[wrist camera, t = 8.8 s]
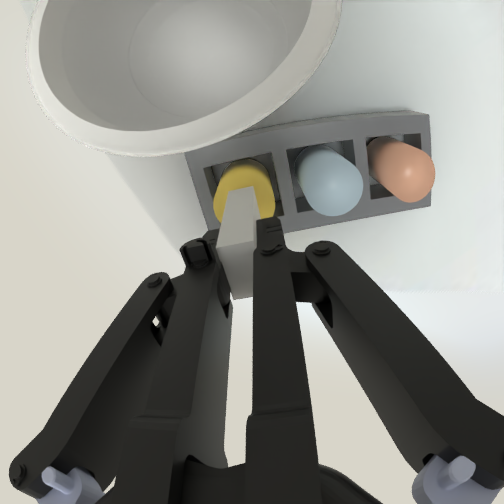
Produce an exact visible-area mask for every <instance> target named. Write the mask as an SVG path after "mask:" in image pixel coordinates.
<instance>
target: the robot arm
mask: <svg viewBox="0 0 504 504" xmlns="http://www.w3.org/2000/svg"><path fill="white" fill-rule="evenodd" d="M180 252H181V255H182V257H183V260H184V262H185V265H186V268H185V271H184V274H182V275H180V276H178V277H175V278H172V279H170V277H169V275H168V274H167V273H164V272H159V273H155V274H152V275H150V276H149V277H147V278H146V279H145V280H144V281H143V282H142V283H141V284H140V286H139V287H138V288H137V290H136V291H135V292H134V294H133V295H132V296H131V298H130V299H129V300H128V302H127V303H126V304H125V306H124V307H123V308H122V310H121V311H120V313H119V314H118V315H117V317H116V318H115V319H114V321H113V322H112V323H111V325H110V326H109V328H108V329H107V330H106V332H105V333H104V335H103V336H102V338H101V339H100V341H99V342H98V343H97V345H96V346H95V348H94V349H93V351H92V352H91V354H90V355H89V357H88V358H87V359H86V361H85V362H84V364H83V365H82V367H81V368H80V370H79V372H78V373H77V375H76V376H75V378H74V379H73V381H72V382H71V384H70V386H69V387H68V389H67V391H66V392H65V394H64V395H63V397H62V398H61V400H60V402H59V403H58V405H57V407H56V408H55V410H54V411H53V413H52V415H51V417H50V418H49V420H48V422H47V423H46V425H45V427H44V429H43V430H42V431H41V432H40V433H39V434H38V435H37V436H36V437H35V438H34V439H33V440H32V441H31V442H30V443H29V444H28V445H27V446H26V447H25V448H24V449H23V450H22V451H21V452H20V453H19V454H18V455H17V456H16V457H15V458H14V460H13V461H12V463H11V465H10V468H9V478H10V481H11V484H12V485H13V487H15V488H16V489H17V490H19V491H21V492H23V493H25V494H27V495H29V496H31V497H33V498H35V499H36V500H37V501H38V503H39V504H383V503H381V502H380V501H378V500H377V499H376V498H374V497H373V496H372V495H370V494H369V493H367V492H366V491H365V490H364V489H362V488H361V487H359V486H358V485H357V484H356V483H355V482H353V481H352V480H351V479H349V478H348V477H347V476H345V475H344V474H342V473H340V472H339V471H337V470H334V469H332V468H330V467H327V466H324V465H320V464H319V463H318V455H317V446H316V437H315V429H314V422H313V413H312V406H311V398H310V391H309V384H308V377H307V370H306V364H305V356H304V350H303V343H302V337H301V331H300V324H299V319H298V312H297V306H296V302H310V303H312V306H313V308H314V310H315V312H316V313H317V315H318V316H319V318H320V320H321V321H322V323H323V324H324V326H325V328H326V329H327V331H328V332H329V334H330V335H331V337H332V339H333V341H334V342H335V344H336V345H337V347H338V349H339V350H340V352H341V353H342V355H343V357H344V358H345V360H346V362H347V363H348V365H349V367H350V368H351V370H352V372H353V373H354V375H355V377H356V378H357V380H358V382H359V383H360V385H361V387H362V388H363V390H364V391H365V393H366V395H367V397H368V398H369V400H370V402H371V403H372V405H373V406H374V408H375V410H376V412H377V413H378V415H379V417H380V419H381V420H382V422H383V424H384V425H385V427H386V429H387V430H388V432H389V434H390V436H391V437H392V439H393V441H394V443H395V444H396V446H397V448H398V449H399V451H400V452H401V454H402V455H403V457H404V458H405V460H406V461H407V462H408V463H409V465H410V466H411V467H412V468H413V469H414V470H415V471H416V472H417V473H418V475H417V477H416V478H415V480H414V482H413V485H412V495H413V498H414V499H415V501H416V503H417V504H491V503H492V501H493V500H494V499H495V497H496V496H497V494H498V493H499V491H500V490H501V489H502V488H503V487H504V416H503V415H501V414H499V413H498V412H496V411H495V410H493V409H491V408H490V407H488V406H487V405H485V404H483V403H482V402H480V401H479V400H477V399H476V398H475V397H474V396H473V394H472V393H471V392H470V390H469V389H468V388H467V387H466V385H465V384H464V383H463V382H462V380H461V379H460V378H459V377H458V375H457V374H456V373H455V372H454V370H453V369H452V368H451V367H450V365H449V364H448V363H447V362H446V361H445V359H444V358H443V357H442V356H441V355H440V353H439V352H438V351H437V350H436V349H435V348H434V346H432V344H431V343H430V342H429V341H428V340H427V338H426V337H425V336H424V335H423V334H422V333H421V332H420V330H419V329H418V328H417V327H416V326H415V325H414V324H413V323H412V321H411V320H410V319H409V318H408V317H407V316H406V315H405V314H404V313H403V312H402V311H401V310H400V308H399V307H398V306H397V305H396V304H395V303H394V302H393V301H392V300H391V299H390V298H389V297H388V295H387V294H386V293H385V292H384V291H383V290H382V289H381V288H380V287H379V286H378V285H377V284H376V283H375V282H374V281H373V280H372V279H371V278H370V277H369V276H368V275H367V274H366V273H365V272H364V271H363V270H362V269H361V268H360V267H359V266H358V265H357V264H356V263H355V262H354V261H353V260H352V259H351V258H350V257H349V256H348V255H347V254H346V253H345V252H344V251H343V250H342V249H341V248H340V247H339V246H338V245H337V244H335V243H334V242H330V241H319V242H314V243H312V244H310V245H309V246H308V247H307V248H306V249H305V252H295V251H291V250H289V249H288V248H287V247H286V245H285V240H284V235H283V230H282V225H281V220H280V219H279V218H277V217H276V216H274V217H269V218H263V219H261V217H260V213H259V208H258V204H257V200H256V196H255V191H254V187H253V186H250V187H246V188H241V189H236V190H232V191H228V196H227V200H226V204H225V209H224V213H223V217H222V222H221V226H220V228H218V229H214V230H209V231H207V232H206V234H205V235H204V236H203V238H197V239H194V240H191V241H189V242H187V243H185V244H184V245H183V246H182V247H181V248H180ZM230 292H231V294H232V297H233V299H234V300H236V299H242V298H248V297H253V388H252V389H253V390H252V391H253V392H252V393H253V395H252V400H253V401H252V414H251V415H249V416H248V419H247V425H246V462H245V463H244V464H239V465H235V466H232V467H228V463H227V459H226V456H225V452H224V434H225V433H224V432H225V416H226V400H227V384H228V369H229V353H230V340H231V325H232V313H233V306H232V303H231V300H230ZM155 316H156V317H157V319H158V320H159V324H158V325H157V326H155V325H154V323H153V322H152V321H153V319H154V318H155ZM115 476H116V480H115V485H114V487H113V488H111V489H110V490H109V491H108V492H107V493H106V494H105V493H103V492H104V490H105V489H106V488H107V487H108V486H109V485H110V484H111V482H112V481H113V479H114V478H115Z"/></svg>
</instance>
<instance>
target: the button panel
mask: <svg viewBox="0 0 504 504" xmlns="http://www.w3.org/2000/svg"><path fill="white" fill-rule="evenodd" d="M401 134H404V143H406V144H408V145H411V146H413V147H415V148H418V149H420V150H422V151H424V152H425V153H427V154H428V155H429V156H430V158H431V135H430V121H429V115H428V114H424V113H419V112H414V111H392V112H376V113H364V114H353V115H343V116H335V117H327V118H319V119H312V120H305V121H299V122H293V123H287V124H282V125H276V126H271V127H266V128H261V129H256V130H251V131H247V132H242V133H238V134H235V135H233V136H231V137H229V138H226V139H224V140H222V141H219V142H217V143H214V144H211V145H208V146H205V147H202V148H199V149H195V150H191V151H187V152H184V153H185V157H186V160H187V163H188V167H189V170H190V173H191V177H192V180H193V183H194V186H195V189H196V193H197V196H198V199H199V202H200V205H201V208H202V212H203V215H204V218H205V221H206V224H207V227H208V230H214V229H218V228H220V226H221V223H220V222H219V220H218V219H217V217H216V215H215V212H214V208H213V201H214V196H215V194H216V191H217V186H216V183H215V179H214V176H213V172H212V169H211V166H213V165H217V164H221V163H225V162H229V161H233V160H238V159H242V158H247V157H251V156H256V155H261V154H266V153H271V156H272V160H273V165H274V170H275V175H276V180H277V184H278V189H279V194H280V199H281V202H276V203H275V211H274V214H273V216H272V217H274V216H276V217H277V218H279V219H280V220H281V225H282V230H283V234H284V233H289V232H294V231H299V230H304V229H309V228H315V227H320V226H325V225H330V224H336V223H341V222H346V221H352V220H357V219H362V218H368V217H373V216H379V215H384V214H389V213H395V212H401V211H406V210H412V209H417V208H423V207H429V206H431V190H430V191H429V193H428V194H427V195H426V196H425V197H424V198H423V199H421V200H419V201H417V202H412V203H408V202H404V201H401V200H400V199H398V198H397V197H396V196H395V195H393V194H392V193H391V192H390V191H389V190H387V189H386V188H385V187H384V186H383V185H381V184H378V185H371V186H370V183H369V169H368V158H367V148H366V139H365V138H368V137H378V136H389V135H401ZM336 141H342V145H343V152H344V158H345V159H347V160H348V161H349V162H351V163H352V164H353V165H354V166H355V167H356V168H357V169H358V170H359V172H360V174H361V176H362V180H363V192H362V196H361V198H360V200H359V202H358V203H357V205H356V206H355V207H354V208H353V209H351V210H350V211H349V212H347V213H345V214H342V215H339V216H326V215H323V214H320V213H318V212H317V211H315V210H314V209H313V208H312V207H311V206H310V204H309V203H308V201H307V199H306V197H302V198H296V199H295V196H294V190H293V185H292V179H291V174H290V169H289V163H288V158H287V153H286V150H287V149H292V148H298V147H304V146H310V145H316V144H322V143H329V142H336Z"/></svg>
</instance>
